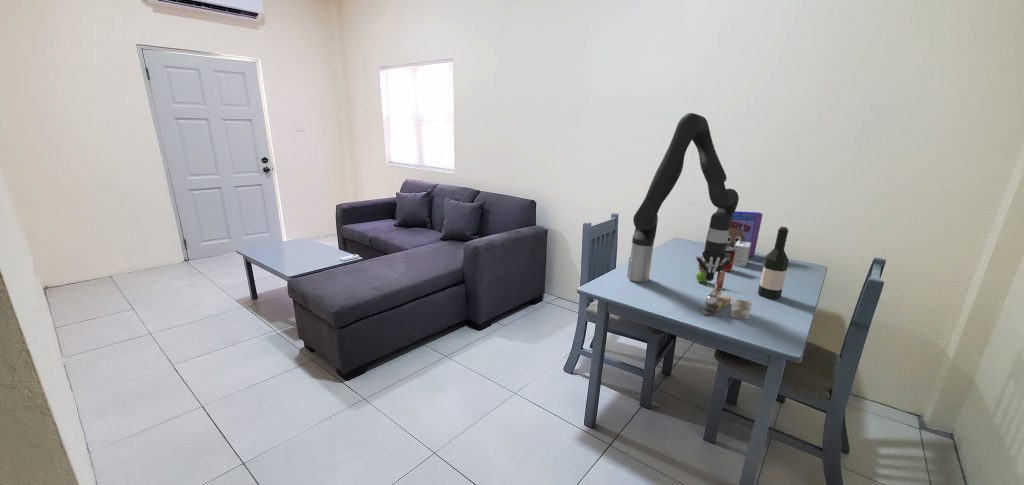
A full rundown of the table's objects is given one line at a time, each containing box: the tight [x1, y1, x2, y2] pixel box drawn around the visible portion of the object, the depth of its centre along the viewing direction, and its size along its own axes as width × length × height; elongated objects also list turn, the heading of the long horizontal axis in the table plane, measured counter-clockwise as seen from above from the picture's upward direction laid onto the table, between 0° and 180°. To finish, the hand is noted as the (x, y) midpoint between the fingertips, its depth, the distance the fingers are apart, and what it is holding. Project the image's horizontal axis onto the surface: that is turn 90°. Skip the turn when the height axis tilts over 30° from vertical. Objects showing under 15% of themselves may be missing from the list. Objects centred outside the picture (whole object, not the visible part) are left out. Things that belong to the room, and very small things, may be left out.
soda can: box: [718, 246, 735, 272], centre depth 203 cm, size 7×7×12 cm
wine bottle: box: [757, 226, 790, 301], centre depth 170 cm, size 8×8×30 cm
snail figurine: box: [695, 259, 708, 283], centre depth 186 cm, size 5×6×12 cm
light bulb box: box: [733, 241, 751, 268], centre depth 212 cm, size 11×7×11 cm, turn 144°
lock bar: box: [705, 271, 726, 306], centre depth 160 cm, size 16×4×9 cm, turn 143°
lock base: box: [698, 295, 753, 319], centre depth 160 cm, size 16×15×6 cm
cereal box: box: [727, 210, 763, 258], centre depth 225 cm, size 17×5×24 cm, turn 81°
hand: (708, 280), depth 166 cm, fingers closed
